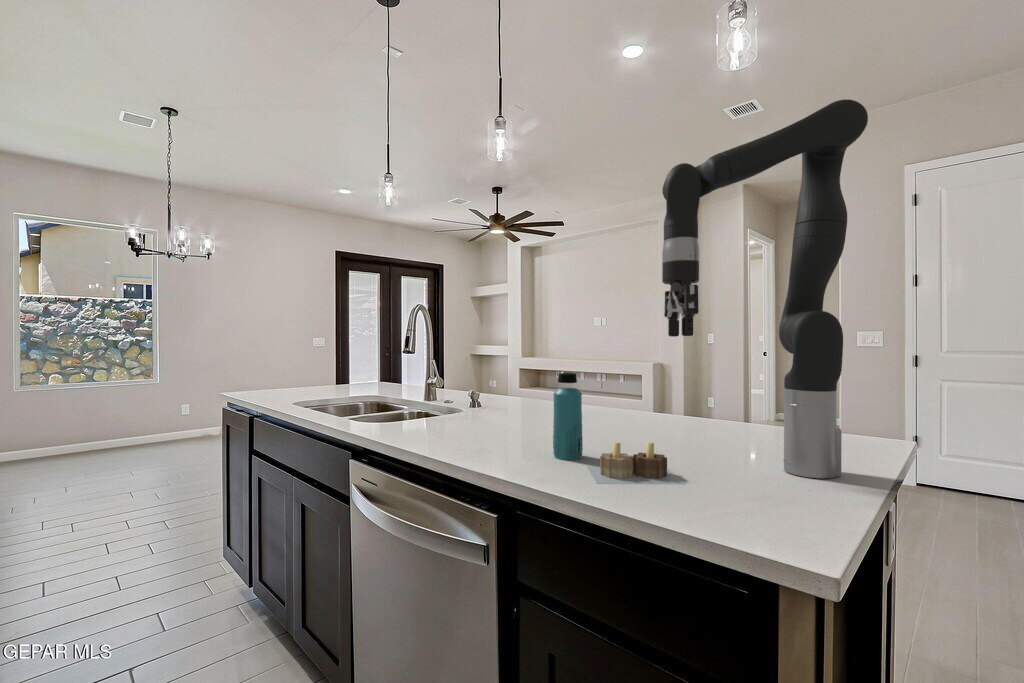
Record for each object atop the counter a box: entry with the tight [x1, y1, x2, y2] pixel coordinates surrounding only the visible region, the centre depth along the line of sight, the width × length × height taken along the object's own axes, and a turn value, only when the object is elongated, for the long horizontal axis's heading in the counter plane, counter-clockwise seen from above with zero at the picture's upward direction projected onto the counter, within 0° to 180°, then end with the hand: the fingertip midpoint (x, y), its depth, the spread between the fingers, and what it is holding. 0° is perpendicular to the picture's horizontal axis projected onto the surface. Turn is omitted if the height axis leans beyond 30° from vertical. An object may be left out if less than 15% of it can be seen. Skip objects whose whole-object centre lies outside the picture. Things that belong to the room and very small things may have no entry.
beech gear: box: [599, 451, 633, 479], centre depth 93 cm, size 6×6×4 cm
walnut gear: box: [632, 452, 668, 479], centre depth 93 cm, size 6×6×4 cm
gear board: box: [586, 441, 687, 485], centre depth 93 cm, size 16×12×8 cm
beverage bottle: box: [552, 372, 584, 461], centre depth 107 cm, size 6×7×20 cm
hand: (680, 336), depth 105 cm, fingers open, 8 cm apart
